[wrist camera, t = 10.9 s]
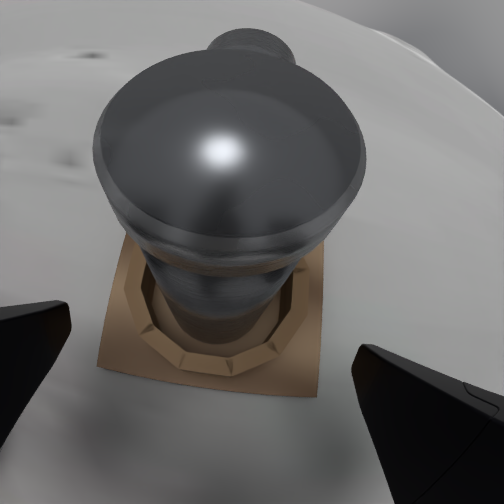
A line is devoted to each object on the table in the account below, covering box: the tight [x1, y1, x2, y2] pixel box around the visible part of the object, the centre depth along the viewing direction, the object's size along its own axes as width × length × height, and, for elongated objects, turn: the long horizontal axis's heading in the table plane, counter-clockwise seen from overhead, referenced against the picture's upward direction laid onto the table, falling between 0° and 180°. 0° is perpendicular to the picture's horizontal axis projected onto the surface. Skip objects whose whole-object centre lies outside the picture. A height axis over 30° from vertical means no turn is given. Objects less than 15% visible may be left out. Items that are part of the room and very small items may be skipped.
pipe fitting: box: [93, 28, 366, 345], centre depth 12 cm, size 8×5×13 cm
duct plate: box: [97, 232, 324, 397], centre depth 17 cm, size 14×12×4 cm
